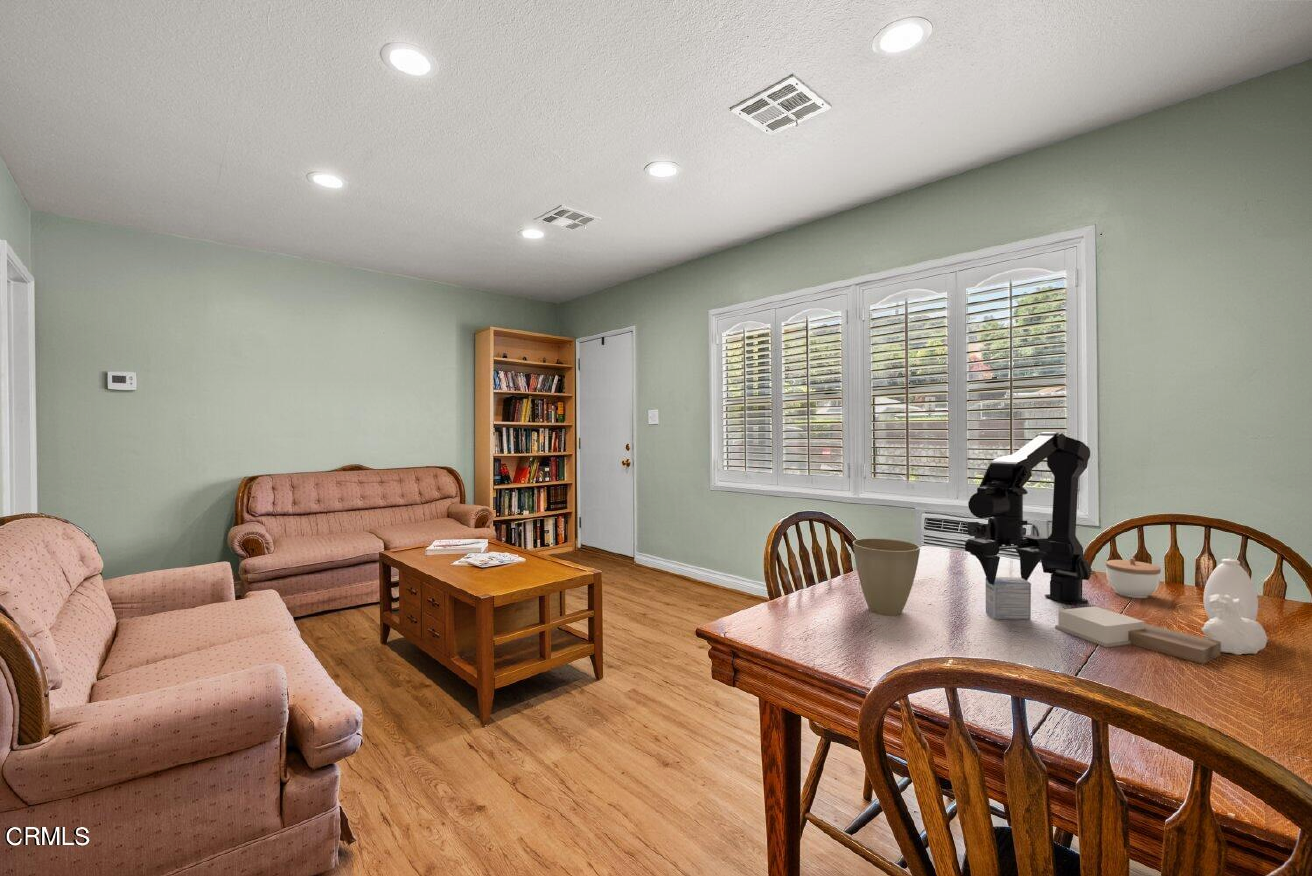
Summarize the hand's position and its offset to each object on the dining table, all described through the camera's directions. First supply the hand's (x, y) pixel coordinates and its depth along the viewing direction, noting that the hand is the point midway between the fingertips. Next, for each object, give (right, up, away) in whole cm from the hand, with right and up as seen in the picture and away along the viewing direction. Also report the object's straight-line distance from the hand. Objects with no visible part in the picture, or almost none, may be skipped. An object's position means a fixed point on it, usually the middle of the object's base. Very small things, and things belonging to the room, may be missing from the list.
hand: (1007, 582), depth 128 cm
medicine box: (0, -8, 0) cm, 8 cm away
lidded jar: (+42, -7, +15) cm, 45 cm away
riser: (+12, -8, -11) cm, 18 cm away
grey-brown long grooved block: (+20, -8, -19) cm, 29 cm away
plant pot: (-26, -8, +5) cm, 28 cm away
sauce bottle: (+40, -8, -11) cm, 42 cm away
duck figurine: (+31, -8, -19) cm, 38 cm away
